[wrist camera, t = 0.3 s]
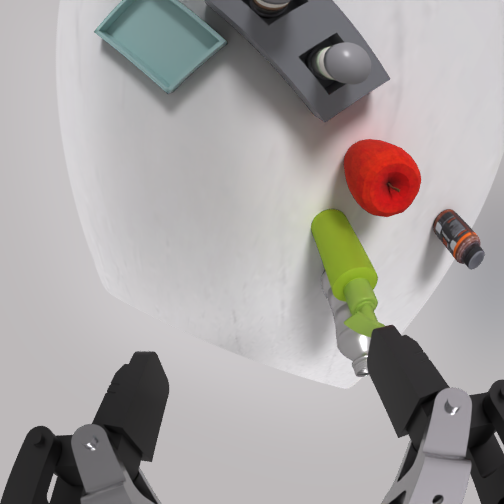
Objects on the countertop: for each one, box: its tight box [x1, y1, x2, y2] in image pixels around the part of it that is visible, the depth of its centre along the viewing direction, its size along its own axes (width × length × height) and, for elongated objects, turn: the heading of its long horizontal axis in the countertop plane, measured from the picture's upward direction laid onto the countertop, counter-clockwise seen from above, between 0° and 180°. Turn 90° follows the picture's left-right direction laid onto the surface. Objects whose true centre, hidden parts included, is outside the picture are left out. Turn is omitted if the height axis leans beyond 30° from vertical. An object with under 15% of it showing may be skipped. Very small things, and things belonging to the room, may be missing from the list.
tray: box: [94, 0, 227, 94], centre depth 22 cm, size 14×9×2 cm, turn 41°
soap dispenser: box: [311, 209, 385, 338], centre depth 33 cm, size 6×7×20 cm
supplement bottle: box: [434, 209, 485, 269], centre depth 36 cm, size 6×6×11 cm
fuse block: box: [205, 0, 390, 122], centre depth 20 cm, size 20×10×10 cm, turn 41°
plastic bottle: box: [321, 271, 371, 377], centre depth 39 cm, size 6×7×20 cm
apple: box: [344, 139, 421, 217], centre depth 30 cm, size 9×9×11 cm
